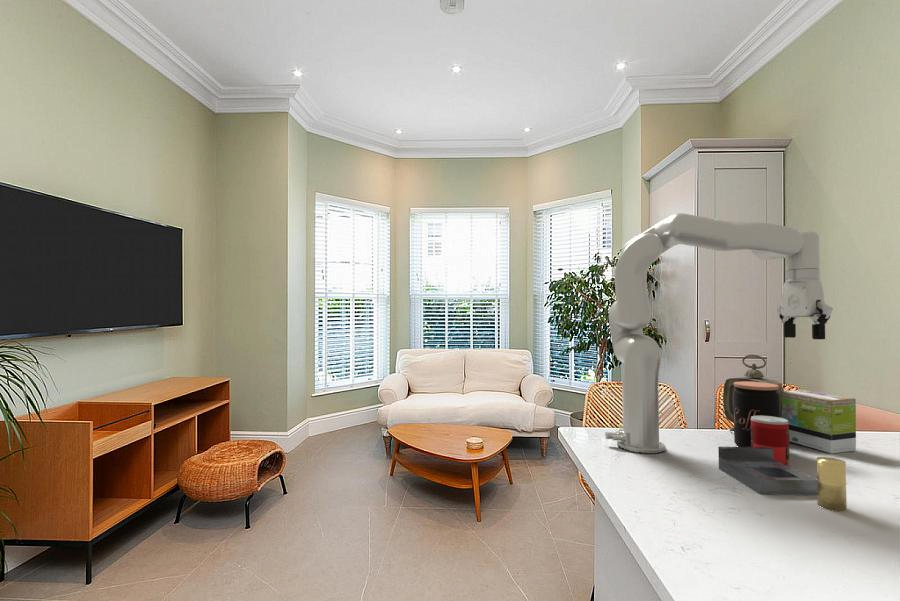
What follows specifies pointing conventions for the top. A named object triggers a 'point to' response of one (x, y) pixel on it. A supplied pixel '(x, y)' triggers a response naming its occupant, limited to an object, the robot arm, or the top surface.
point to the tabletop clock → (752, 376)
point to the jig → (764, 471)
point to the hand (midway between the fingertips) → (803, 338)
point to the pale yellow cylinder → (831, 483)
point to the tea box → (820, 420)
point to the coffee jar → (752, 407)
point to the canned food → (771, 436)
